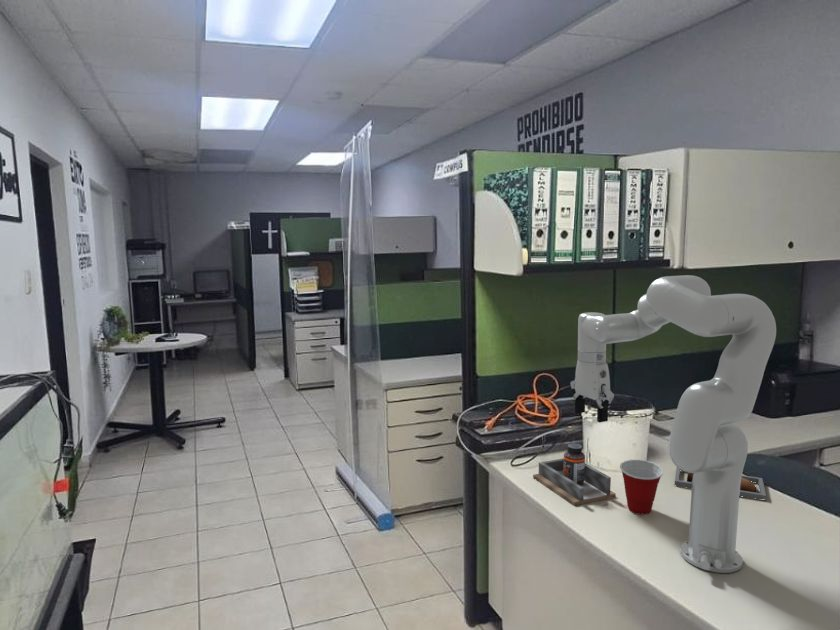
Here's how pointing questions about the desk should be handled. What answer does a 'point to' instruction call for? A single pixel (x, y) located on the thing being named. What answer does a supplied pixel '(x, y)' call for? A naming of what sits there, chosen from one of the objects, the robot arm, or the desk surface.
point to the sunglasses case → (744, 485)
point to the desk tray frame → (742, 493)
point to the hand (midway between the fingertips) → (590, 417)
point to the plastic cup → (640, 484)
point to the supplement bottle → (574, 464)
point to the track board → (575, 494)
